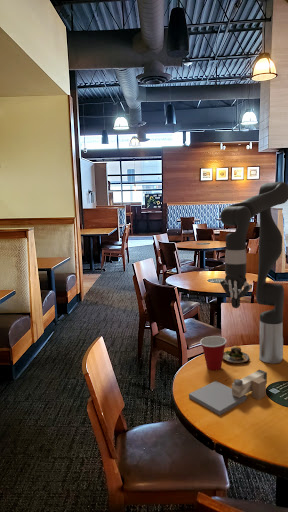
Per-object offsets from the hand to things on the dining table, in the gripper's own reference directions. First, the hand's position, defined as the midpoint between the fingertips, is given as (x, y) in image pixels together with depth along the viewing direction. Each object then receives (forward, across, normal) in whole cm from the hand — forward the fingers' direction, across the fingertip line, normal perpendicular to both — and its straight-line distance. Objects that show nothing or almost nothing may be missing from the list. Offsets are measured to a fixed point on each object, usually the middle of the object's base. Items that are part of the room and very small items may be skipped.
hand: (235, 307), depth 133 cm
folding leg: (+27, -9, +4) cm, 29 cm away
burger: (+30, +11, -16) cm, 35 cm away
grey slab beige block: (+29, -5, +12) cm, 32 cm away
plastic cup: (+29, +13, -3) cm, 32 cm away
